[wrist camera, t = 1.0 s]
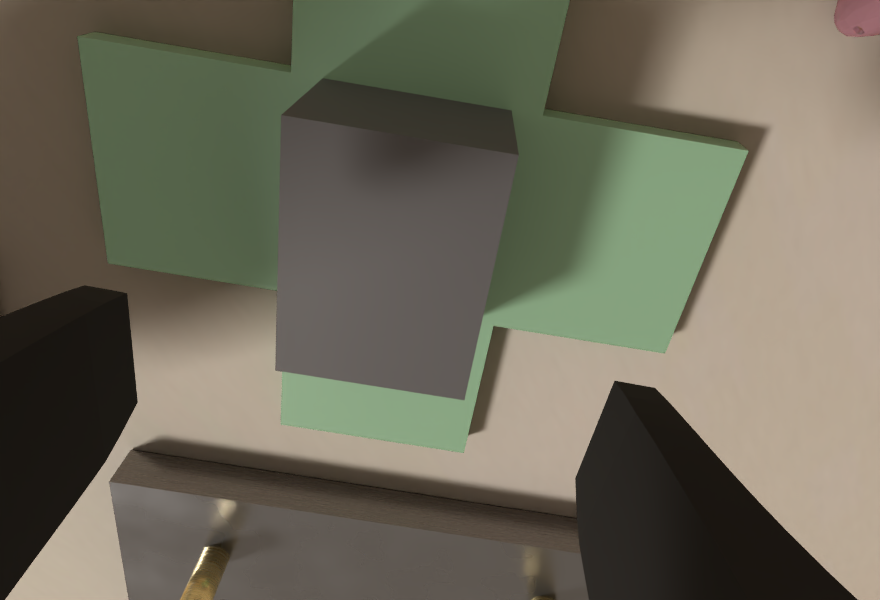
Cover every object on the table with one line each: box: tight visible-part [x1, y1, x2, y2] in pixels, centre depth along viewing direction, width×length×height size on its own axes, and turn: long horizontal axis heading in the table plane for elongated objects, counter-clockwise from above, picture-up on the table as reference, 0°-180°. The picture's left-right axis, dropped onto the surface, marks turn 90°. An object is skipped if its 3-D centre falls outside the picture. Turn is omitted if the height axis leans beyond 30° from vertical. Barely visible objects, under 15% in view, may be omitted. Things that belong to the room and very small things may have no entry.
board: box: [77, 0, 748, 453], centre depth 15 cm, size 16×16×4 cm
